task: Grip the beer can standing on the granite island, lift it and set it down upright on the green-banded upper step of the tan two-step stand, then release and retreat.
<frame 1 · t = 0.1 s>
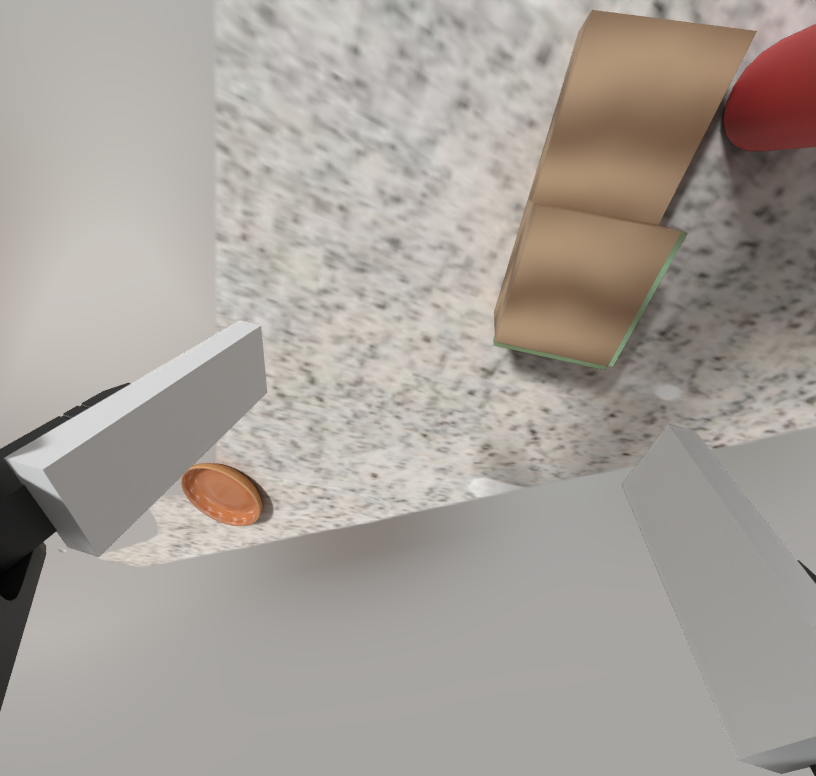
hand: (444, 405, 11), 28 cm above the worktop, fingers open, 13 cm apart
step stand: (583, 208, 31), on the worktop
saucer: (230, 486, 66), on the worktop
beer can: (772, 98, 25), on the worktop
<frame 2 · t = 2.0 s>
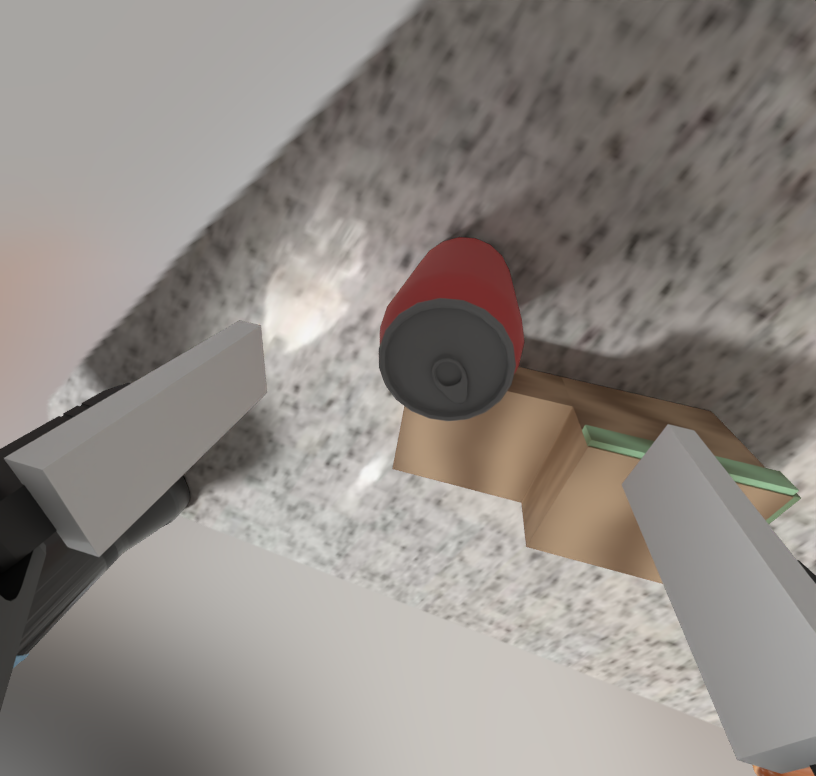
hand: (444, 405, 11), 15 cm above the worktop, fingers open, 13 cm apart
step stand: (537, 426, 29), on the worktop
saucer: (811, 749, 49), on the worktop
beer can: (461, 285, 24), on the worktop
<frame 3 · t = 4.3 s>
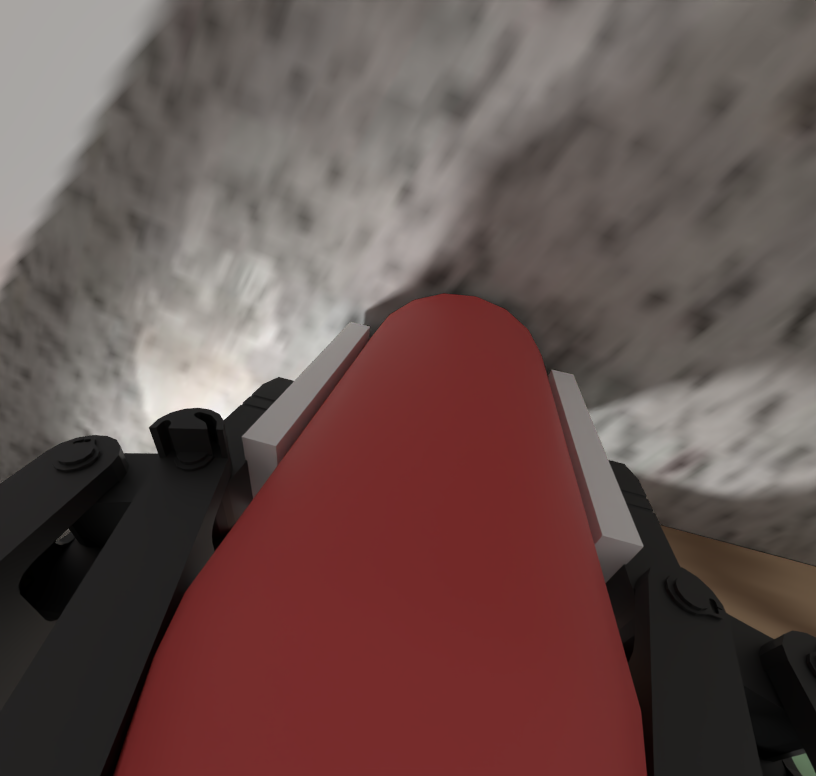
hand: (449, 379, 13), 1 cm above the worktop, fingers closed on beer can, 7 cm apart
step stand: (574, 572, 18), on the worktop
beer can: (451, 370, 13), on the worktop, touching gripper
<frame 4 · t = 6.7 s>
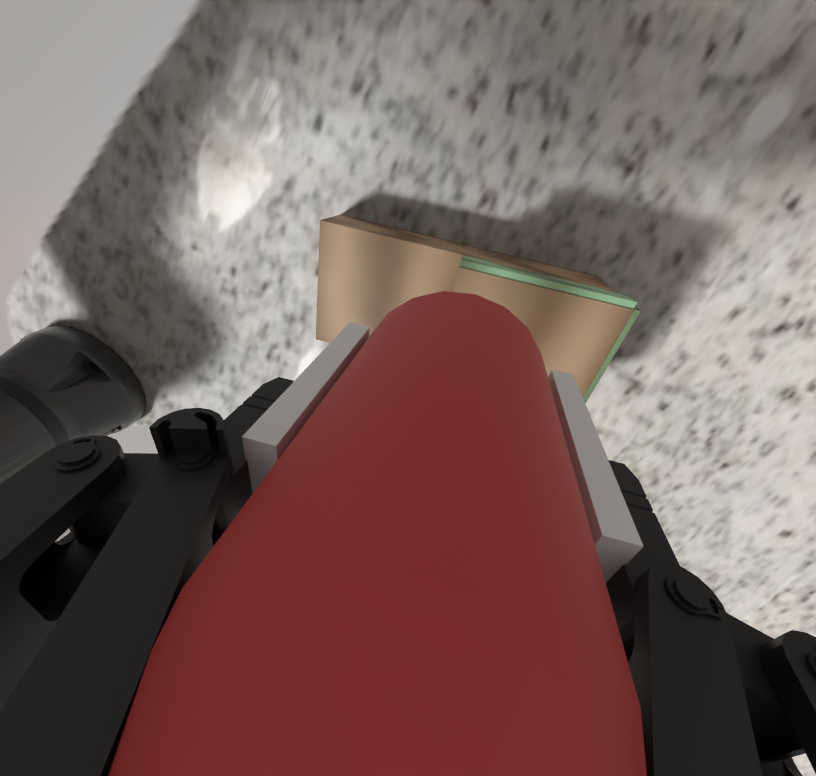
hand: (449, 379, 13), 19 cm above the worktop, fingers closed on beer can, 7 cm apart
step stand: (450, 302, 31), on the worktop
beer can: (451, 368, 13), point 19 cm above the worktop, touching gripper
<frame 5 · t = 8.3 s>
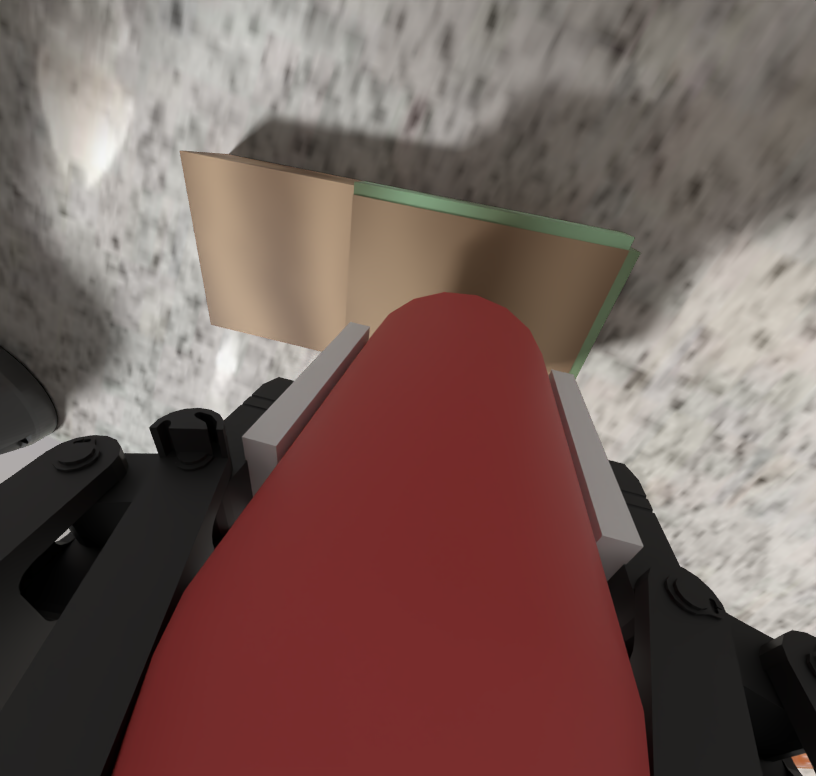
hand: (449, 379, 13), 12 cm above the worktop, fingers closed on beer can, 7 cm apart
step stand: (387, 271, 23), on the worktop
beer can: (452, 369, 13), point 11 cm above the worktop, touching gripper
when the fingers open (10 cm above the worktop, at t = 9.5 s): beer can drops 1 cm, resting on step stand.
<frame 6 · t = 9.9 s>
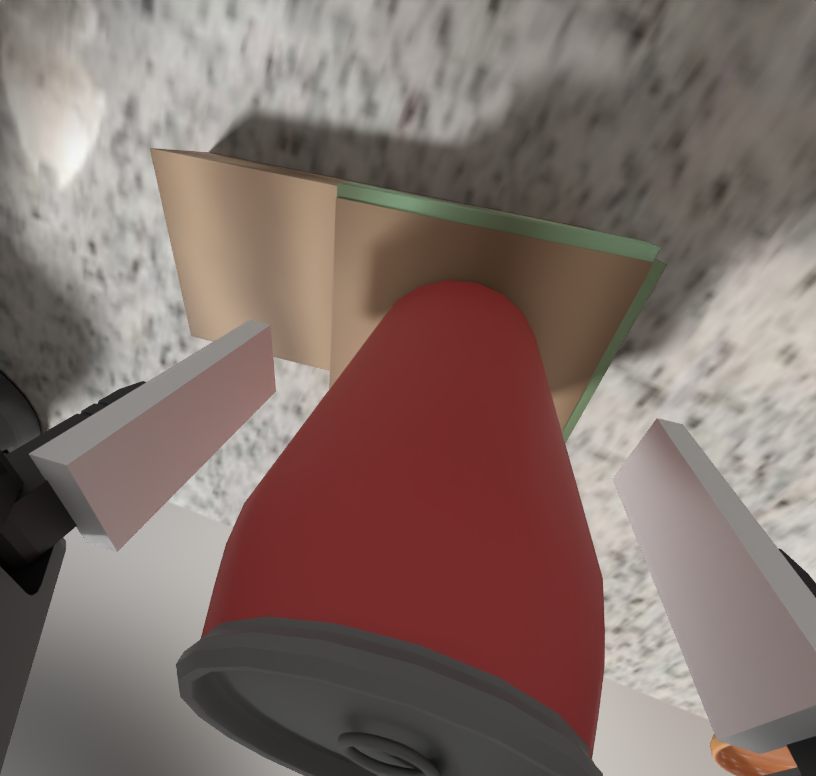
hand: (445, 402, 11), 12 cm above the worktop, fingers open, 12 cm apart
step stand: (380, 279, 21), on the worktop
saucer: (780, 733, 42), on the worktop
beer can: (453, 353, 15), point 8 cm above the worktop, touching step stand
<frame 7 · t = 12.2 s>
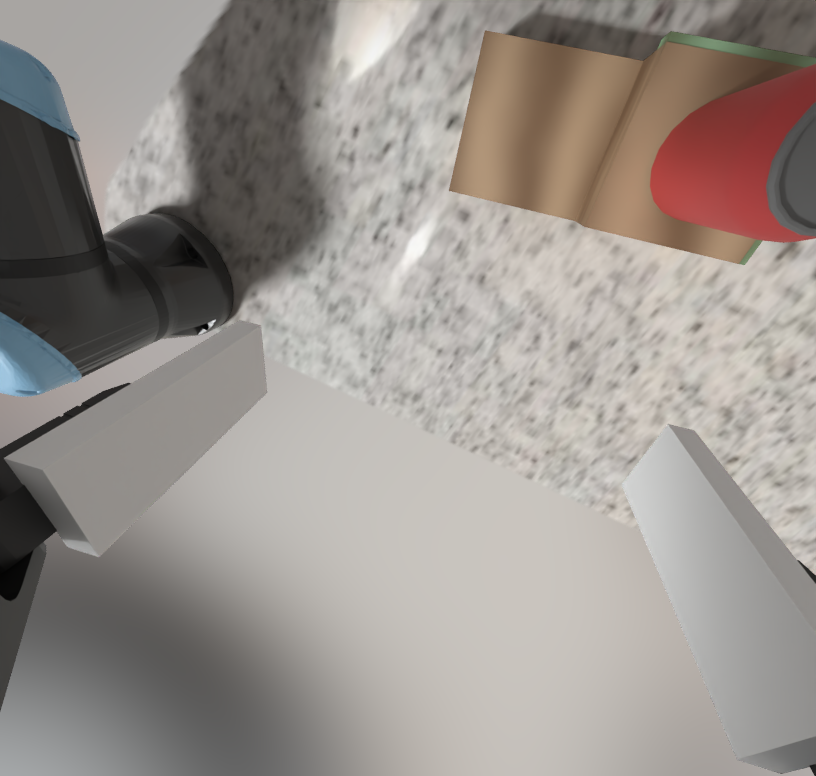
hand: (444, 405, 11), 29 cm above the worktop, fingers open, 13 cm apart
step stand: (594, 152, 29), on the worktop
beer can: (704, 163, 22), point 8 cm above the worktop, touching step stand
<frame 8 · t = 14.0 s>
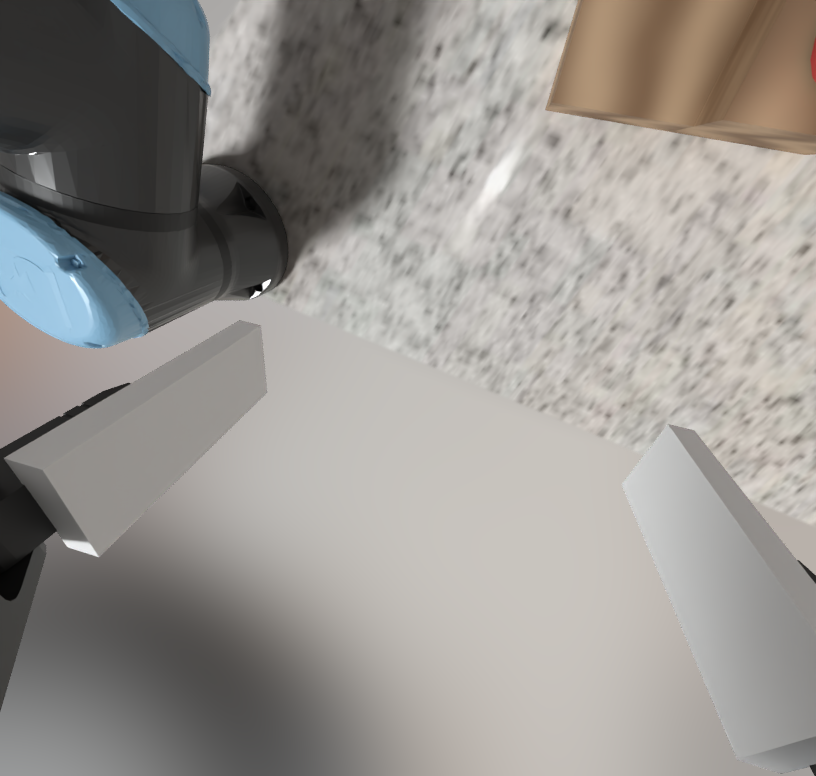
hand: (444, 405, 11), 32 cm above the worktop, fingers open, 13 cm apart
step stand: (708, 53, 27), on the worktop
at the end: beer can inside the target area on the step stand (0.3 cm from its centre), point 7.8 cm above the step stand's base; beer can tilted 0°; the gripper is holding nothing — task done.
